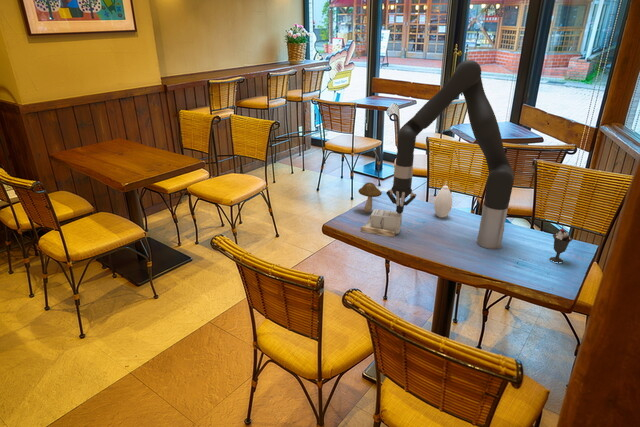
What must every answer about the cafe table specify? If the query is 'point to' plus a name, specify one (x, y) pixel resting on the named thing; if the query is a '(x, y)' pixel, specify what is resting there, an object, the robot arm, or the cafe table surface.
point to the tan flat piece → (377, 230)
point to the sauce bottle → (443, 202)
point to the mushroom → (369, 194)
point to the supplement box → (386, 220)
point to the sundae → (560, 244)
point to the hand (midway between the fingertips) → (399, 213)
